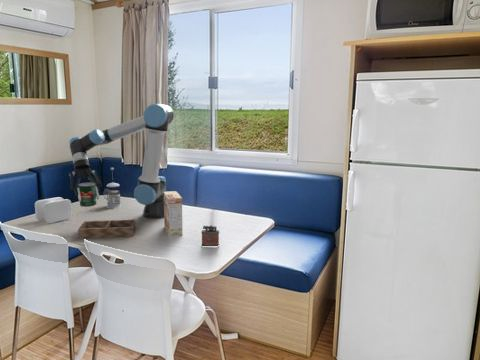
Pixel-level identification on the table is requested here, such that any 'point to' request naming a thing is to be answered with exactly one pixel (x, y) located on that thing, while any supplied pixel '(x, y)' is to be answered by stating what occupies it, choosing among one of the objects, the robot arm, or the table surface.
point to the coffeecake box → (173, 213)
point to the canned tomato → (87, 194)
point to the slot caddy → (107, 229)
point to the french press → (113, 196)
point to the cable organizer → (53, 209)
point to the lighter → (210, 236)
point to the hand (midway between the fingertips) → (89, 199)
